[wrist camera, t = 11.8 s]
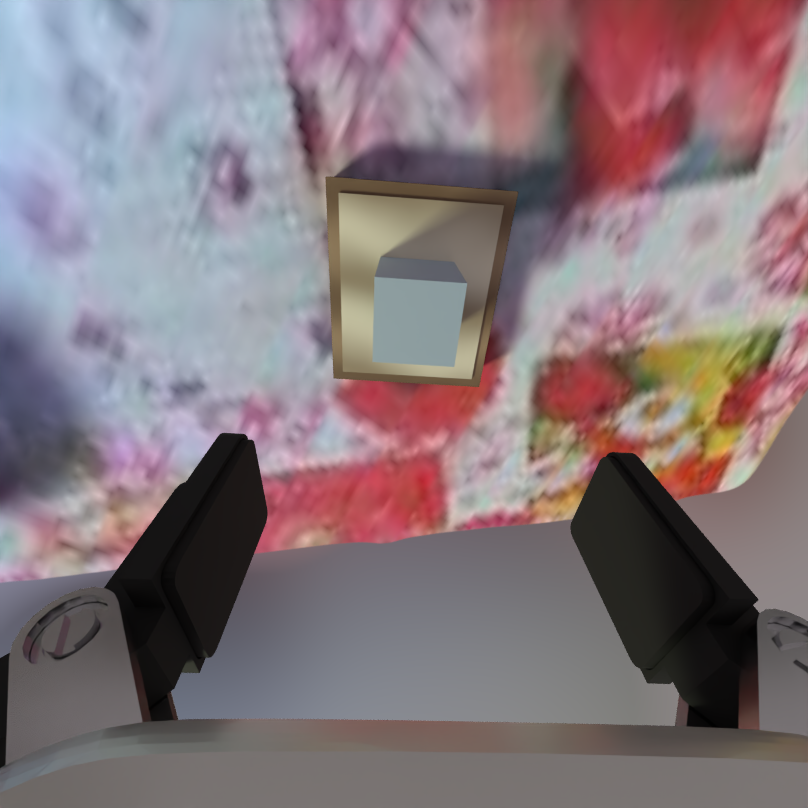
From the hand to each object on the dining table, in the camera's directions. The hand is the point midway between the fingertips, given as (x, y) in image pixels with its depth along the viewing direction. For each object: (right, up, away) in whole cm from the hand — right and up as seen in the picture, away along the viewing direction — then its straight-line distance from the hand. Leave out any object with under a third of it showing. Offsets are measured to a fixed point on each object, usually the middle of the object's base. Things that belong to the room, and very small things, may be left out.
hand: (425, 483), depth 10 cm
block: (0, +10, +16) cm, 19 cm away
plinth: (0, +11, +19) cm, 22 cm away
